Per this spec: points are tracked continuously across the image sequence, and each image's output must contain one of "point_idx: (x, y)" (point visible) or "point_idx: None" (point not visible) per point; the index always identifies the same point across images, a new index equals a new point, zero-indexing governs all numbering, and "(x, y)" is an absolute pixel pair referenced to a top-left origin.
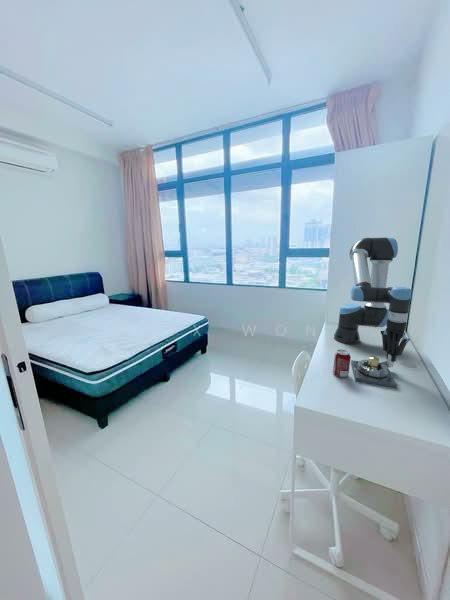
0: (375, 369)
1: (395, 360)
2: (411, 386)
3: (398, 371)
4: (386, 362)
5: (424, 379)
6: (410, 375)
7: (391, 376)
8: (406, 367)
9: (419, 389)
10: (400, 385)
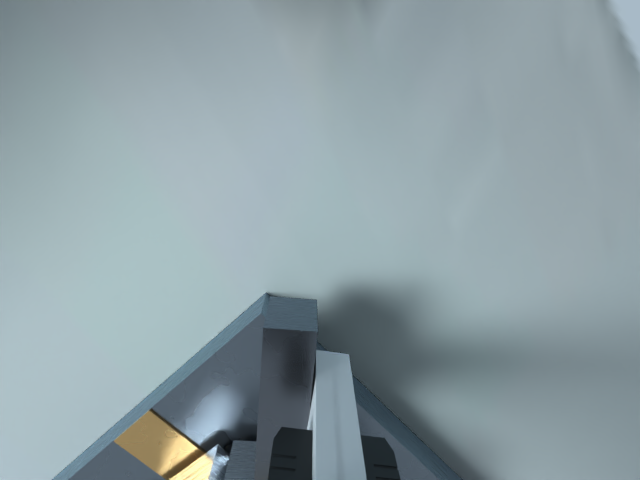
0: None
1: (395, 460)
2: (551, 388)
3: (359, 226)
4: (288, 427)
5: (591, 154)
6: (470, 200)
7: (420, 476)
8: (354, 27)
9: (608, 378)
10: (490, 445)
